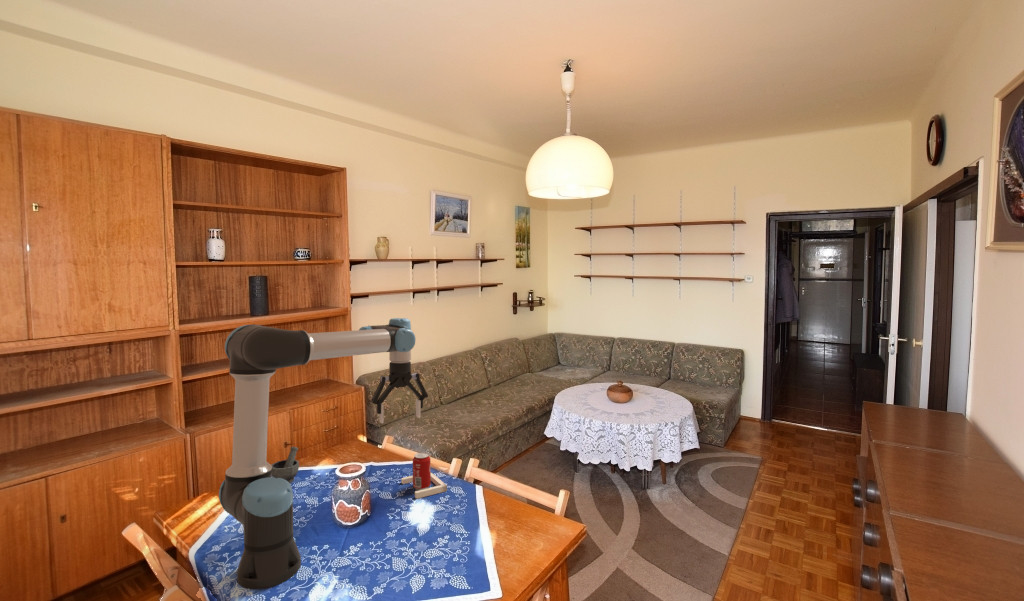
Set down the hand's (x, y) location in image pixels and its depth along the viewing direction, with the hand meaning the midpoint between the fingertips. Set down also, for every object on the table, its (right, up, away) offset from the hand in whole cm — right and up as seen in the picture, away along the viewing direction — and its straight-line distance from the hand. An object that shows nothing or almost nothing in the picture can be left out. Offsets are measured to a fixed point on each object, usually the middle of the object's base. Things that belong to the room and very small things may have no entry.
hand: (400, 420), depth 175 cm
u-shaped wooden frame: (+8, -25, +1) cm, 26 cm away
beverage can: (+8, -25, +1) cm, 26 cm away
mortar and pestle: (-44, -25, +7) cm, 51 cm away
